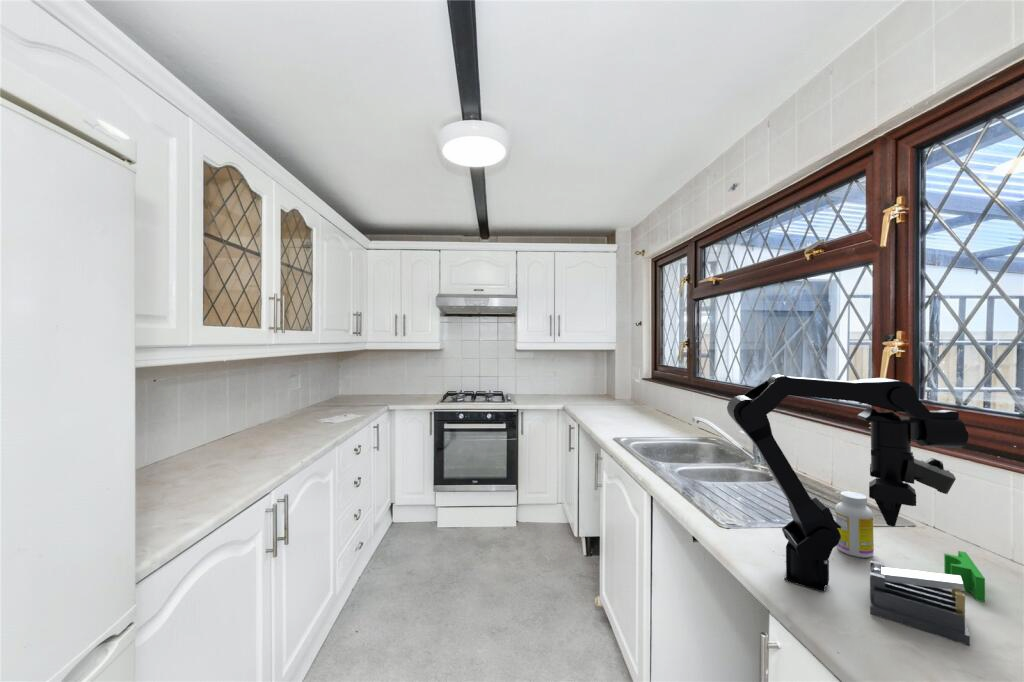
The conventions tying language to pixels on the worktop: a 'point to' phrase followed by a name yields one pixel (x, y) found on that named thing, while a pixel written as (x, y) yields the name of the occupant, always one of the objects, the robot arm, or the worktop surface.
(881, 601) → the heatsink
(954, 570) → the pipe clamp
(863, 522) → the supplement bottle
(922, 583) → the silver metal bar
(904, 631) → the worktop surface
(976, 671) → the worktop surface
